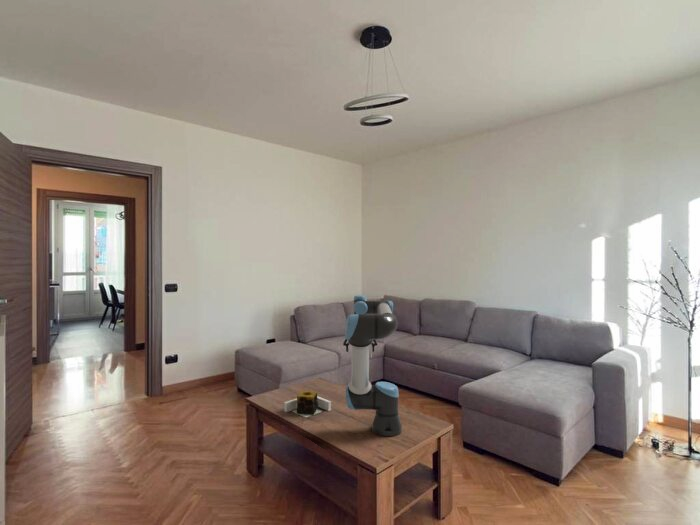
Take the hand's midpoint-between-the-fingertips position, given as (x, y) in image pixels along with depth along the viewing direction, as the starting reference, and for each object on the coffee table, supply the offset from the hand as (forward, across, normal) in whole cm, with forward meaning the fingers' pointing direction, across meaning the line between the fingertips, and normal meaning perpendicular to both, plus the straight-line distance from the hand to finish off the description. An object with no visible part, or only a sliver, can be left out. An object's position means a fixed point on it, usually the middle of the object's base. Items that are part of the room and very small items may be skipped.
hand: (360, 357), depth 227 cm
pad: (+29, +30, +9) cm, 43 cm away
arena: (+29, +30, +8) cm, 42 cm away
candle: (+29, +30, +9) cm, 43 cm away
